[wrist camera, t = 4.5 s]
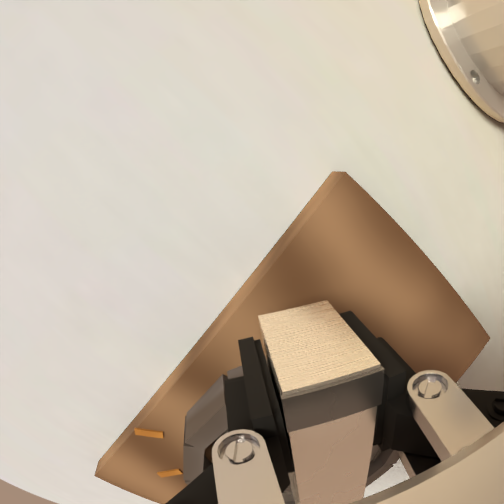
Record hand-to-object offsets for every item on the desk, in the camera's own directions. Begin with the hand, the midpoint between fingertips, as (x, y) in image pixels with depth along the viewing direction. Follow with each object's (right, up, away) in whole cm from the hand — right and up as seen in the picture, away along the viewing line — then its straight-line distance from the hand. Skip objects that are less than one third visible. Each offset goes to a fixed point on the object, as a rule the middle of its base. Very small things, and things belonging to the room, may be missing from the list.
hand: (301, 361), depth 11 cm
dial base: (+1, -6, +7) cm, 9 cm away
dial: (+1, -4, +4) cm, 6 cm away
